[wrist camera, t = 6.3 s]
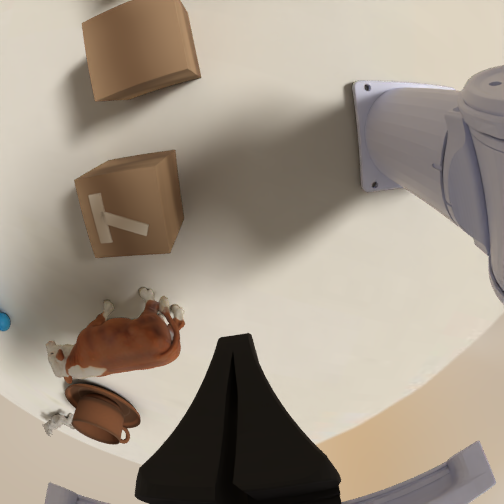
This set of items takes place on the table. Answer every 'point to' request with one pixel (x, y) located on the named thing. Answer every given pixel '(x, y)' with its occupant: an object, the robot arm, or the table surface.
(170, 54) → the plain cube
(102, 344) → the bull figurine
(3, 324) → the molecular structure
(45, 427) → the soldier figure
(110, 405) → the cup and saucer
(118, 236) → the cube seven
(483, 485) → the robot arm
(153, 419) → the table surface
